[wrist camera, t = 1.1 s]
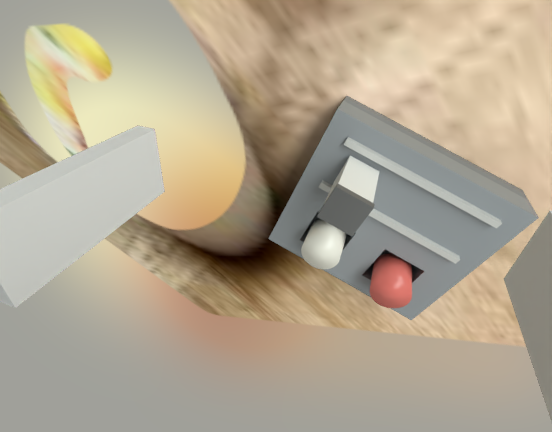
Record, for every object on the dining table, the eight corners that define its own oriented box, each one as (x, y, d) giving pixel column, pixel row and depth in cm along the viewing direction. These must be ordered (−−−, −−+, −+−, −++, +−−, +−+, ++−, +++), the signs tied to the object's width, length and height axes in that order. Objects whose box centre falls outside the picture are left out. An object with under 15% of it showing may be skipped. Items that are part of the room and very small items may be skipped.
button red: (366, 269, 37) (362, 294, 34) (386, 247, 34) (383, 271, 31) (397, 287, 36) (396, 314, 33) (420, 266, 34) (420, 292, 31)
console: (282, 216, 42) (266, 241, 38) (346, 95, 31) (336, 110, 27) (411, 289, 41) (411, 324, 37) (522, 190, 31) (540, 221, 26)
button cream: (305, 235, 37) (295, 256, 34) (320, 210, 35) (311, 231, 31) (335, 252, 37) (328, 275, 34) (353, 228, 34) (347, 251, 31)
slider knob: (333, 181, 31) (316, 216, 26) (349, 154, 29) (335, 186, 24) (362, 197, 31) (352, 236, 26) (381, 171, 29) (374, 207, 24)
